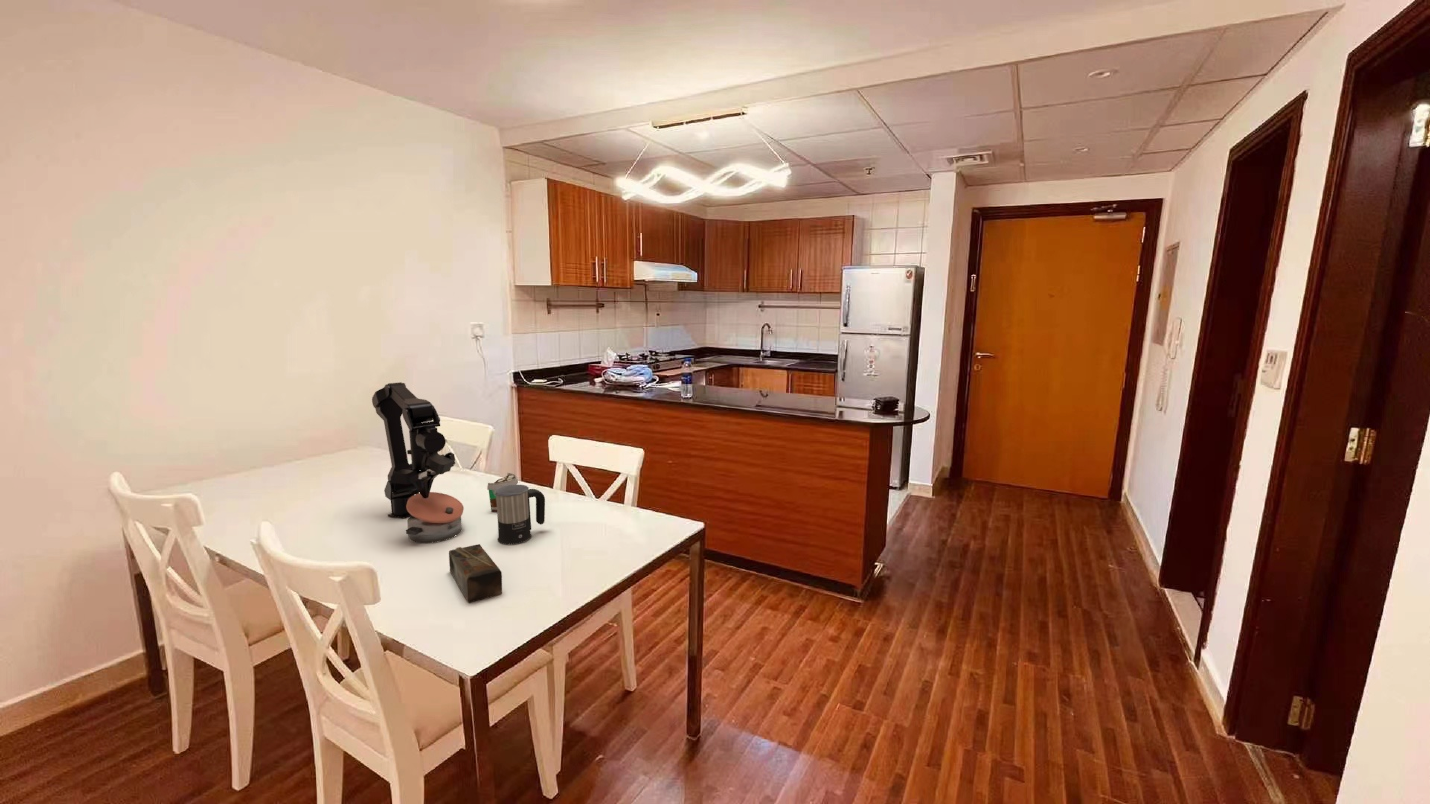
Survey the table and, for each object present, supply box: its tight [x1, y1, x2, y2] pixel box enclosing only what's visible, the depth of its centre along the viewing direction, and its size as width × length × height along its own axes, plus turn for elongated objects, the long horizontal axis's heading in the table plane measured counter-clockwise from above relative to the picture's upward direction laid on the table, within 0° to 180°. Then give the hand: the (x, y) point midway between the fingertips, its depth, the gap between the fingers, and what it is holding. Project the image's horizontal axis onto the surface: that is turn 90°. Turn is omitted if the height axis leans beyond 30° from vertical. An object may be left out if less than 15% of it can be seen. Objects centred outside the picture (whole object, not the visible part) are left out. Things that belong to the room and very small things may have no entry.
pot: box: [405, 515, 463, 544], centre depth 165 cm, size 14×19×5 cm
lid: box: [406, 491, 465, 523], centre depth 164 cm, size 15×15×2 cm
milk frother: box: [495, 484, 546, 545], centre depth 165 cm, size 14×16×15 cm
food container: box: [486, 472, 519, 513], centre depth 186 cm, size 12×6×10 cm, turn 168°
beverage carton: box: [448, 543, 503, 603], centre depth 137 cm, size 8×19×7 cm, turn 36°
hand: (425, 498), depth 164 cm, fingers closed
